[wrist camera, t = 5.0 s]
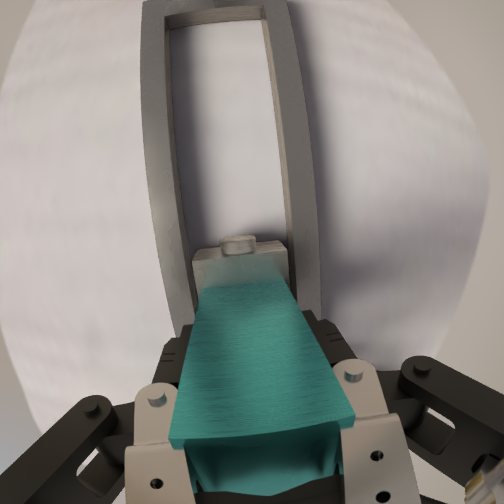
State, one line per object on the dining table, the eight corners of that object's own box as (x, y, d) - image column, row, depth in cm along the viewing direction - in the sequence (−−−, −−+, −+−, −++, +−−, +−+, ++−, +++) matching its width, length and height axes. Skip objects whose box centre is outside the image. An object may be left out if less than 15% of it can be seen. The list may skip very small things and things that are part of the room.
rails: (149, 14, 11) (142, 1, 9) (278, 0, 11) (282, -14, 10) (199, 396, 16) (198, 412, 15) (313, 382, 17) (319, 397, 15)
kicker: (157, 244, 14) (34, 361, 4) (316, 225, 14) (465, 309, 4) (189, 381, 16) (167, 532, 6) (319, 365, 16) (384, 504, 6)
